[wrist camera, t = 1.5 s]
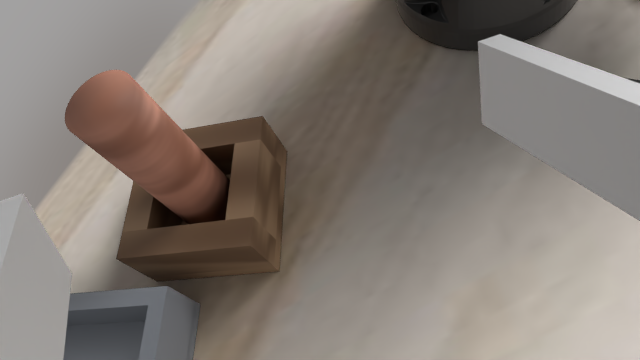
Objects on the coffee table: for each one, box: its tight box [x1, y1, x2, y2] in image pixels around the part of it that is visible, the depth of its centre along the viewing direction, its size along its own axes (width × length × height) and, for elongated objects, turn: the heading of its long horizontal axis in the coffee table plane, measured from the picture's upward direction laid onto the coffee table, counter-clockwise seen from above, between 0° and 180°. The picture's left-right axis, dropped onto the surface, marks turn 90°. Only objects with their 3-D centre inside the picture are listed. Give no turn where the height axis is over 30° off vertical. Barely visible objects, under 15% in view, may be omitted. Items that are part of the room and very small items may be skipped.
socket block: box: [116, 116, 287, 281], centre depth 40 cm, size 10×10×5 cm
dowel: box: [65, 70, 230, 224], centre depth 35 cm, size 4×4×14 cm
